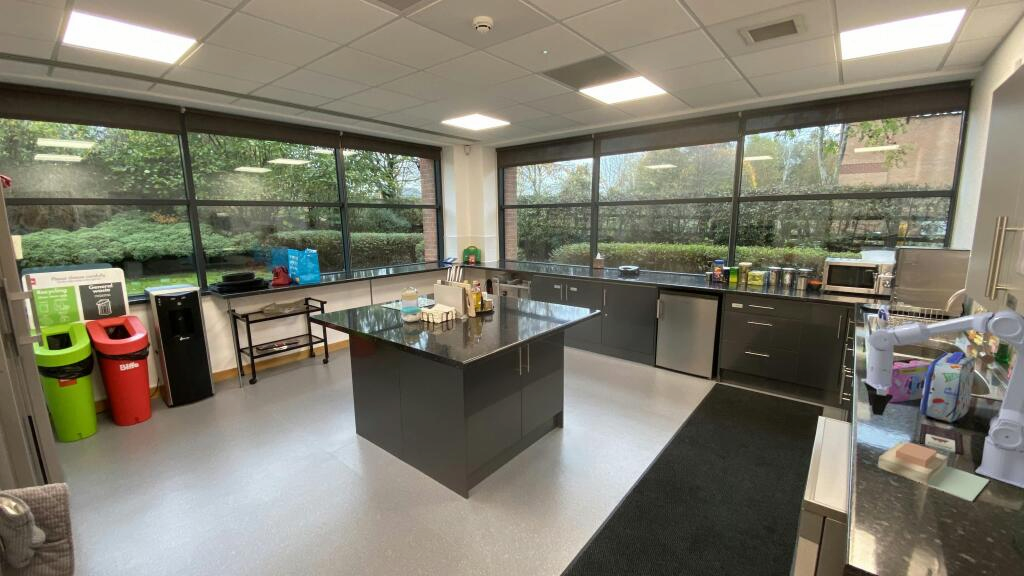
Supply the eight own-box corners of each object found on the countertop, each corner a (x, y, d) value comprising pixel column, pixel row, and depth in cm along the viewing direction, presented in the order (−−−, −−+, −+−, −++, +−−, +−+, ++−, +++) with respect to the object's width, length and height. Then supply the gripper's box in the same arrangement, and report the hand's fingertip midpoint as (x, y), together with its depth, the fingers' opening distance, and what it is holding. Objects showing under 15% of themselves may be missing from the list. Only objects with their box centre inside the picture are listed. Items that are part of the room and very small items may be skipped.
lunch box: (932, 399, 161) (939, 344, 158) (972, 408, 153) (980, 350, 150) (915, 419, 145) (922, 357, 142) (958, 430, 137) (967, 365, 134)
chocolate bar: (960, 432, 134) (961, 453, 122) (960, 435, 134) (961, 456, 122) (921, 423, 141) (918, 442, 128) (921, 425, 141) (918, 445, 128)
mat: (989, 481, 109) (989, 479, 109) (971, 502, 101) (971, 500, 101) (946, 466, 116) (946, 465, 116) (926, 485, 108) (926, 484, 108)
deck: (946, 466, 116) (947, 456, 116) (926, 485, 108) (928, 474, 107) (899, 451, 124) (900, 441, 124) (877, 467, 116) (878, 457, 116)
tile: (936, 457, 115) (936, 450, 115) (924, 467, 110) (925, 460, 110) (907, 448, 120) (908, 441, 120) (895, 457, 116) (896, 450, 115)
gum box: (913, 390, 171) (917, 358, 169) (936, 397, 163) (940, 364, 161) (866, 395, 166) (869, 362, 164) (887, 403, 158) (891, 369, 157)
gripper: (860, 359, 136) (856, 399, 138) (865, 372, 125) (861, 415, 126) (889, 363, 132) (884, 404, 134) (897, 376, 121) (892, 421, 122)
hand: (875, 409), depth 130 cm, fingers open, 7 cm apart
